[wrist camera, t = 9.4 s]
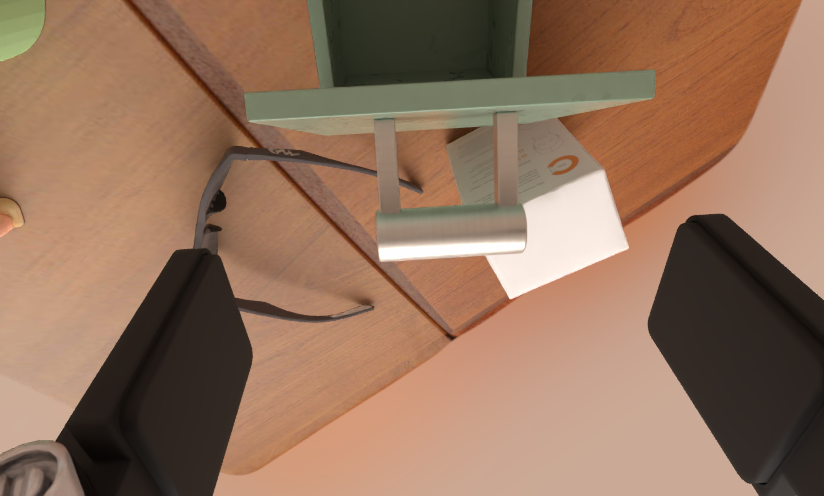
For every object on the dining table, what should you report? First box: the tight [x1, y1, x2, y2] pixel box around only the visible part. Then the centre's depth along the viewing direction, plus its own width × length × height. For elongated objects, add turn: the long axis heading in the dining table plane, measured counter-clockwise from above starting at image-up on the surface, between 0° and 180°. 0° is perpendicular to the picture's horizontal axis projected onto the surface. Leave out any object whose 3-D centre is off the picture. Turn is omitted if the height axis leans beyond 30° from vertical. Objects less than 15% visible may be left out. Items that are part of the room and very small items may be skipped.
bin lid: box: [244, 69, 656, 262], centre depth 21 cm, size 14×12×6 cm
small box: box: [446, 118, 629, 299], centre depth 33 cm, size 8×6×13 cm
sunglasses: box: [193, 146, 423, 323], centre depth 40 cm, size 16×17×5 cm
